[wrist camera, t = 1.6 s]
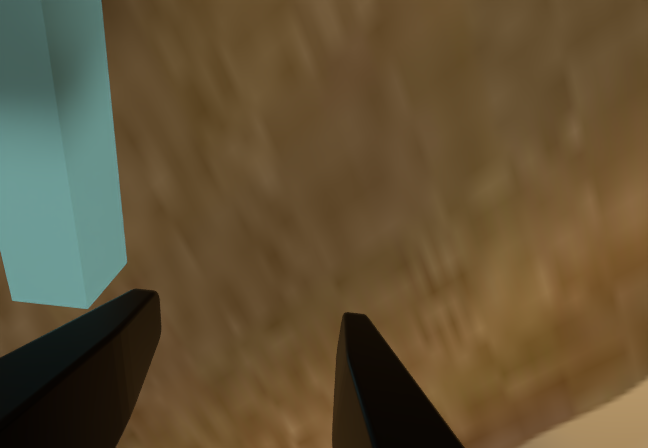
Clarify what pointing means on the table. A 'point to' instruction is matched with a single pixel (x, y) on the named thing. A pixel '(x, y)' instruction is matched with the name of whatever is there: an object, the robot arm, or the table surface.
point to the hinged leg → (57, 154)
